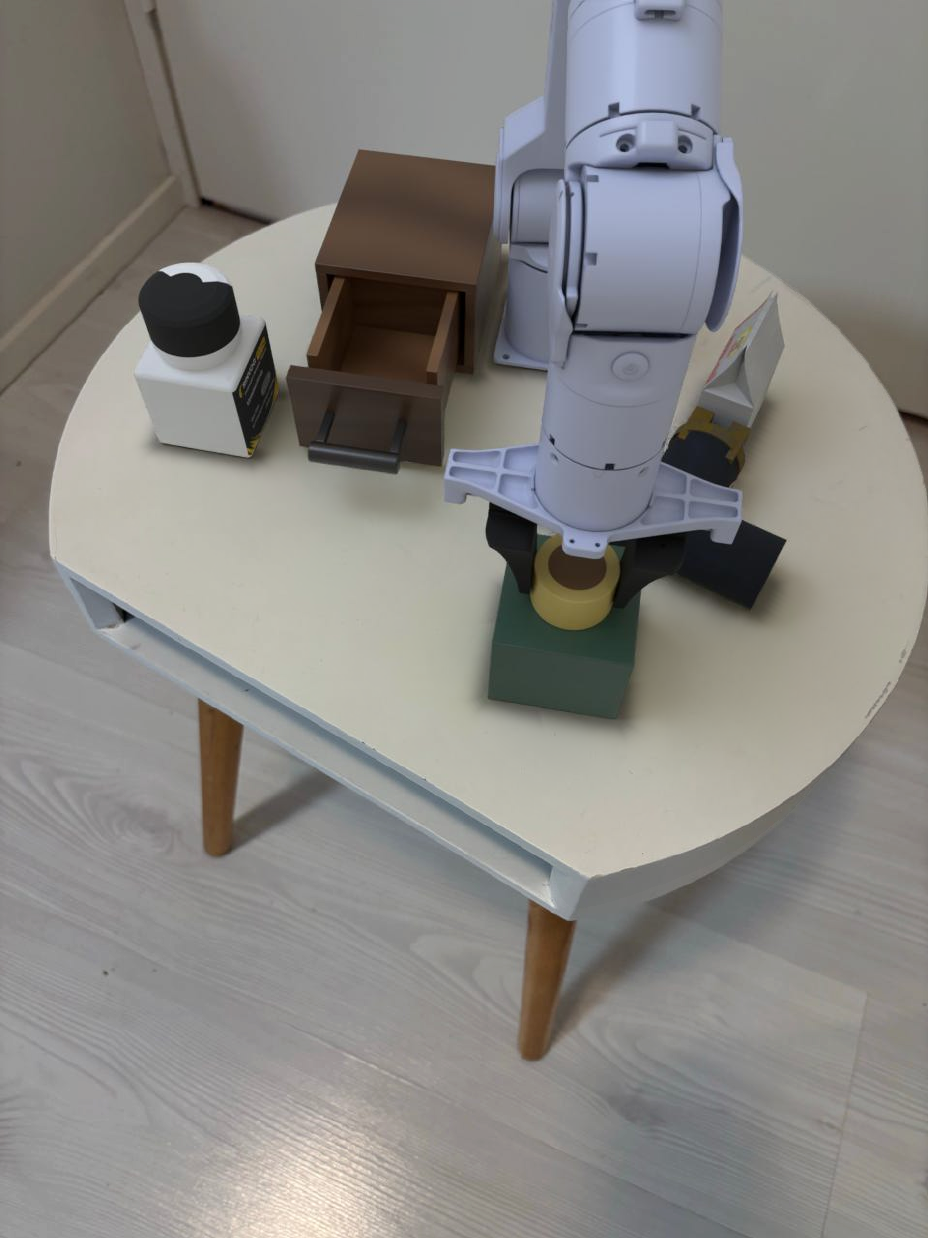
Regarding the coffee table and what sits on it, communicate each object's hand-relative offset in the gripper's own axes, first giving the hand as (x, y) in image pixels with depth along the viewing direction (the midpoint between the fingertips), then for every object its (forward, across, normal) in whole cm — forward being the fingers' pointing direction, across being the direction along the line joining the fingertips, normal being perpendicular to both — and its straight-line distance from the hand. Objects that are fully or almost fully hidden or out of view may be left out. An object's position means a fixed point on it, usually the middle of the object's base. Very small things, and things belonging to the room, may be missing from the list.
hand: (572, 586), depth 55 cm
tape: (+1, 0, 0) cm, 1 cm away
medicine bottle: (+8, -27, +16) cm, 32 cm away
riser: (+8, 0, 0) cm, 8 cm away
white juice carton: (+8, +10, +22) cm, 25 cm away
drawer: (+7, -15, +17) cm, 24 cm away
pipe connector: (+8, +7, +12) cm, 16 cm away
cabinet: (+8, -15, +30) cm, 35 cm away
